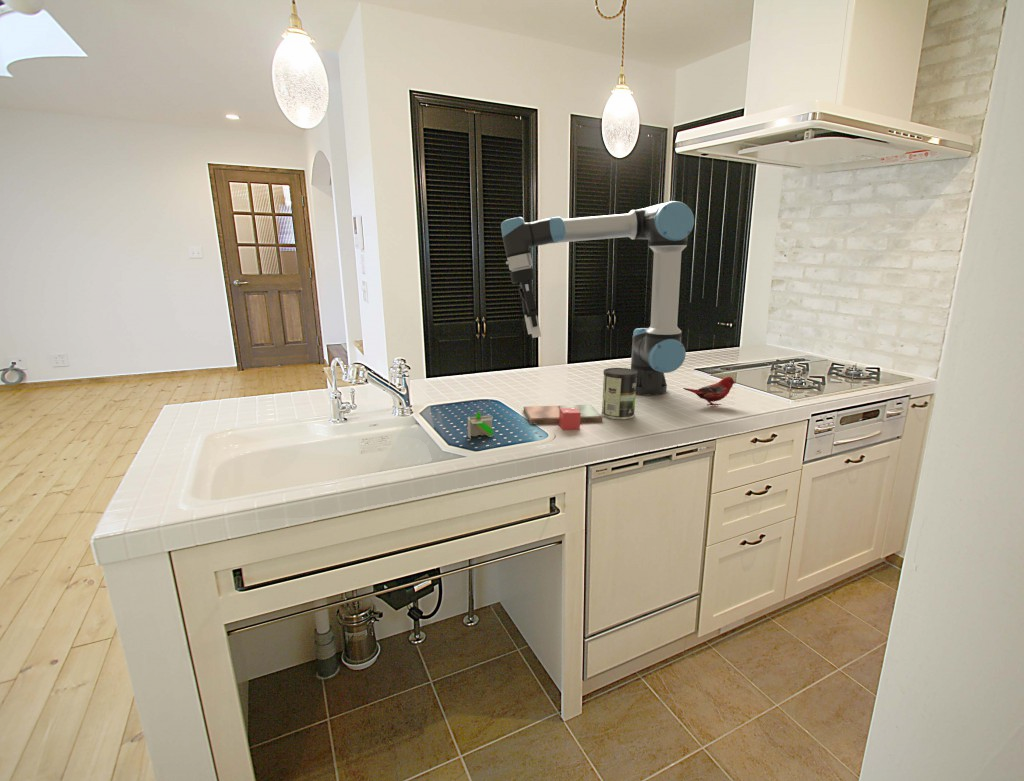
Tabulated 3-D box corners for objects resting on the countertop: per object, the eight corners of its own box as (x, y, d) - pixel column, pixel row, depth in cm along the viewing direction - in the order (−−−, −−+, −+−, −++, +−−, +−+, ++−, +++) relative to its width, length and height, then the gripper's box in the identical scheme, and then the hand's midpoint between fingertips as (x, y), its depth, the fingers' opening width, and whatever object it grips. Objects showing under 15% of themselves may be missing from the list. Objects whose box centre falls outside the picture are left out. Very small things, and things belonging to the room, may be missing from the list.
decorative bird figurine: (735, 407, 175) (738, 377, 172) (682, 407, 174) (685, 378, 171) (731, 404, 178) (734, 375, 175) (679, 404, 177) (682, 376, 174)
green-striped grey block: (495, 440, 144) (495, 412, 142) (471, 442, 142) (471, 414, 140) (491, 435, 148) (491, 408, 145) (467, 438, 145) (467, 410, 143)
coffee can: (634, 411, 170) (637, 368, 166) (634, 420, 160) (638, 375, 156) (601, 408, 172) (604, 366, 168) (600, 418, 162) (602, 373, 158)
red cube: (575, 423, 157) (576, 407, 155) (579, 429, 152) (580, 412, 151) (558, 424, 156) (559, 407, 155) (562, 429, 151) (563, 412, 150)
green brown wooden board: (590, 409, 171) (590, 404, 171) (602, 421, 159) (602, 416, 158) (523, 411, 168) (523, 406, 168) (530, 424, 156) (530, 418, 155)
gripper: (507, 273, 178) (519, 334, 182) (512, 270, 154) (526, 341, 158) (528, 268, 178) (541, 329, 183) (537, 265, 154) (551, 336, 158)
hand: (534, 335), depth 170 cm, fingers open, 13 cm apart
